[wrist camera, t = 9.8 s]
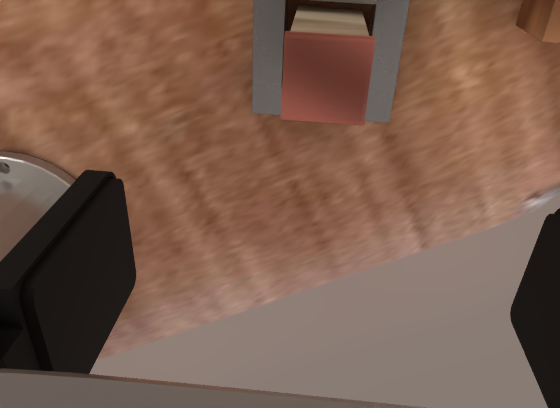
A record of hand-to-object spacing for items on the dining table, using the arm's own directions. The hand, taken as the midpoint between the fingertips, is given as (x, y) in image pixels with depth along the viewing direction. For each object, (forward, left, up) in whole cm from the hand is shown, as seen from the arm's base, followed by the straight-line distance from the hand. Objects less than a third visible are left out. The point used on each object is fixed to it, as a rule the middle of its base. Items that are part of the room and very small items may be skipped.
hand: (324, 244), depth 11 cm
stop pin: (0, 0, -20) cm, 20 cm away
